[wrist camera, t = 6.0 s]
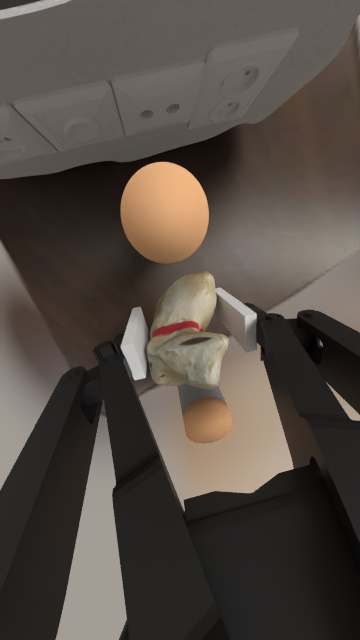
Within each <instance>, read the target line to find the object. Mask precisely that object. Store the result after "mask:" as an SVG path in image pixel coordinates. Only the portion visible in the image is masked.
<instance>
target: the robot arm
mask: <svg viewBox="0 0 360 640" xmlns="http://www.w3.org/2000/svg"><path fill="white" fill-rule="evenodd" d="M215 290H216V296H217V302H216V308H215V313H216V316H217V317H218V318H219V320H220V321H221V322H222V323H223V325H224V326H225V327H226V328H227V329H228V331H229V332H230V333H231V334H232V335H233V337H234V338H235V339H236V340H237V342H238V343H239V344H240V345H241V346H242V347H243V349H244V350H245V351H246V352H250V351H254V350H257V343H258V344H259V345H260V346H261V361H262V360H263V361H264V365H265V368H266V372H267V375H268V379H269V382H270V385H271V389H272V392H273V396H274V399H275V403H276V406H277V409H278V413H279V416H280V420H281V423H282V426H283V430H284V433H285V437H286V440H287V444H288V447H289V451H290V454H291V457H292V461H293V467H294V469H293V470H289V471H285V472H282V473H279V474H277V475H276V476H275V477H273V478H272V479H271V480H269V481H268V482H267V483H265V484H264V485H263V486H261V487H260V488H259V489H258V490H256V491H255V492H253V493H233V492H219V491H214V492H210V493H207V494H203V495H200V496H196V497H193V498H189V499H186V500H184V506H185V512H184V510H183V508H182V505H181V503H180V501H179V498H178V496H177V493H176V491H175V488H174V485H173V483H172V481H171V478H170V475H169V473H168V470H167V468H166V465H165V463H164V460H163V458H162V455H161V453H160V450H159V448H158V445H157V443H156V440H155V438H154V435H153V433H152V430H151V428H150V425H149V423H148V420H147V418H146V415H145V412H144V410H143V408H142V405H141V402H140V400H139V397H138V395H137V392H136V390H135V387H134V385H133V382H132V380H131V378H132V376H133V378H134V380H139V379H143V378H146V367H147V351H146V348H147V344H148V333H149V331H148V328H147V325H146V322H145V319H144V316H143V312H142V309H141V307H136V308H133V309H132V312H131V315H130V318H129V321H128V325H127V328H126V331H125V333H123V334H119V335H117V336H116V337H115V338H114V341H107V342H104V343H101V344H99V345H98V346H97V347H95V348H94V350H93V353H94V355H95V357H96V359H97V361H98V363H99V365H98V366H97V367H95V368H92V369H90V370H88V371H86V369H85V368H84V367H81V366H80V367H75V368H72V369H70V370H69V371H67V372H66V373H65V374H64V375H63V376H62V377H61V379H60V380H59V382H58V384H57V386H56V388H55V390H54V392H53V393H52V396H51V397H50V399H49V401H48V403H47V405H46V407H45V408H44V410H43V412H42V414H41V416H40V418H39V419H38V421H37V423H36V425H35V427H34V429H33V431H32V433H31V434H30V436H29V438H28V440H27V442H26V444H25V446H24V448H23V449H22V451H21V453H20V455H19V457H18V459H17V461H16V462H15V464H14V466H13V468H12V470H11V472H10V474H9V475H8V477H7V479H6V481H5V483H4V485H3V487H2V488H1V490H0V640H55V639H56V635H57V632H58V627H59V622H60V618H61V614H62V609H63V605H64V600H65V596H66V590H67V585H68V580H69V574H70V569H71V564H72V559H73V553H74V548H75V542H76V538H77V532H78V527H79V522H80V517H81V511H82V506H83V501H84V496H85V490H86V485H87V480H88V475H89V469H90V464H91V459H92V453H93V448H94V443H95V438H96V433H97V427H98V422H99V417H100V411H101V406H102V400H103V399H104V403H105V410H106V417H107V423H108V430H109V436H110V444H111V449H112V457H113V463H114V470H115V477H116V486H115V488H113V494H112V497H113V508H114V516H115V524H116V532H117V541H118V549H119V557H120V565H121V573H122V581H123V589H124V597H125V605H126V614H127V621H126V623H125V626H124V628H123V631H122V633H121V636H120V638H119V640H360V421H354V420H351V419H350V418H349V417H348V415H347V414H346V413H345V411H344V409H343V408H342V406H341V405H340V403H339V402H338V400H337V398H336V397H335V395H334V394H333V392H332V391H331V389H330V388H329V386H328V385H327V383H328V384H329V385H330V386H331V387H332V388H333V389H334V390H335V391H336V392H337V393H338V394H339V395H340V396H341V397H342V398H343V399H345V401H346V402H348V404H350V406H352V407H353V408H354V409H355V410H356V411H357V412H358V413H359V414H360V333H359V332H358V331H356V330H354V329H352V328H350V327H348V326H346V325H344V324H342V323H341V322H339V321H337V320H335V319H333V318H331V317H329V316H327V315H325V314H323V313H322V312H319V311H314V310H303V311H300V312H299V313H298V315H297V318H296V319H285V318H284V317H283V316H282V315H279V314H275V313H269V314H267V313H266V312H264V311H262V310H261V309H259V308H258V307H256V306H255V305H253V304H250V303H245V304H243V303H241V302H240V301H238V300H237V299H236V298H234V297H233V296H231V295H230V294H229V293H227V292H226V291H224V290H223V289H222V288H216V289H215ZM320 340H321V342H322V343H323V347H322V346H321V345H320ZM325 381H326V382H327V383H326V382H325Z"/></svg>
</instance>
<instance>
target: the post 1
mask: <svg viewBox="0 0 360 640" xmlns="http://www.w3.org/2000/svg"><path fill="white" fill-rule="evenodd" d="M121 221H122V225H123V229H124V232H125V234H126V236H127V238H128V240H129V241H130V243H131V245H132V246H133V247H134V248H135V249H136V250H137V251H138V252H139V253H140V254H141V255H143V256H144V257H145V258H147V259H149V260H151V261H154V262H157V263H163V264H171V263H176V262H180V261H182V260H184V259H186V258H188V257H189V256H191V255H192V254H193V253H194V252H195V251H196V250H197V249H198V247H199V246H200V245H201V243H202V241H203V239H204V237H205V235H206V232H207V228H208V222H209V208H208V203H207V199H206V196H205V193H204V191H203V189H202V187H201V185H200V183H199V182H198V181H197V179H196V178H195V177H194V176H193V175H192V174H191V173H190V172H189V171H187V170H186V169H184V168H183V167H181V166H179V165H176V164H174V163H169V162H156V163H152V164H149V165H147V166H145V167H143V168H141V169H140V170H138V171H137V172H136V173H135V174H134V175H133V176H132V177H131V179H130V180H129V182H128V183H127V185H126V187H125V190H124V192H123V195H122V200H121Z"/></svg>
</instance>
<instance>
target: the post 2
mask: <svg viewBox="0 0 360 640" xmlns="http://www.w3.org/2000/svg"><path fill="white" fill-rule="evenodd" d="M178 390H179V396H180V402H181V408H182V414H183V420H184V426H185V432H186V435H187V437H188V438H189V439H190V440H191V441H193V442H196V443H211V442H214V441H217V440H219V439H221V438H223V437H224V436H226V435H227V434H228V433H229V432H230V430H231V429H232V427H233V418H232V415H231V414H230V411H229V409H228V407H227V404H226V402H225V400H224V398H223V395H222V393H221V391H220V389H219V386H218V387H217V388H216V389H214V390H207V389H203V388H199V387H195V386H191V385H188V384H185V383H184V384H182V385H178Z"/></svg>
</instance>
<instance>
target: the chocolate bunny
mask: <svg viewBox="0 0 360 640" xmlns="http://www.w3.org/2000/svg"><path fill="white" fill-rule="evenodd" d="M216 302H217V296H216V290H215V282H214V278H213V276H212V275H211V274H210V273H209V272H207V271H205V272H201V273H198V274H188V275H185V276H183V277H181V278H179V279H177V280H176V281H175V282H174V283H173V284H172V285H171V286H170V287H169V288H168V289H167V290H166V291H164V293H163V295H162V296H161V297H160V299H159V301H158V302H157V304H156V308H155V314H154V318H153V324H152V327H151V331H150V339H151V340H150V341H149V343H148V344H147V348H146V351H147V357H148V362H149V367H150V372H151V376H152V380H153V382H154V383H156V384H159V385H167V386H178V385H182V384H184V383H185V384H188V385H191V386H195V387H199V388H203V389H207V390H214V389H216V388H217V387H218V385H219V382H220V369H221V360H222V357H223V355H224V354H225V352H226V350H227V347H228V342H229V338H227V337H226V336H225V335H222V334H216V333H210V332H204V331H205V330H206V328H207V326H208V324H209V323H210V321H211V319H212V316H213V314H214V311H215V308H216Z"/></svg>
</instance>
